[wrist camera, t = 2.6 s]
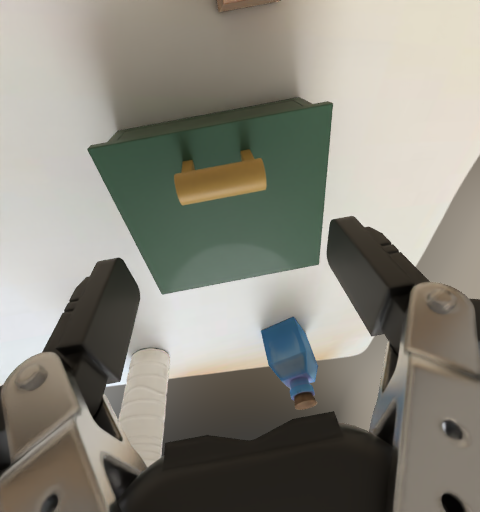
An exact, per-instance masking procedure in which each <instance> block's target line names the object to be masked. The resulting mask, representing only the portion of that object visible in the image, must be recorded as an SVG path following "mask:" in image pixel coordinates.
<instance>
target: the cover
mask: <svg viewBox="0 0 480 512" xmlns="http://www.w3.org/2000/svg"><path fill="white" fill-rule="evenodd" d="M332 108H333V103H331V102H328V101H327V102H322V103H317V104H311V105H306V106H300V107H295V108H290V109H284V110H279V111H273V112H268V113H263V114H257V115H252V116H246V117H241V118H236V119H230V120H225V121H219V122H214V123H209V124H203V125H198V126H192V127H187V128H182V129H176V130H171V131H165V132H160V133H155V134H149V135H144V136H138V137H133V138H128V139H122V140H117V141H111V142H106V143H101V144H95V145H91V146H90V147H89V148H88V152H89V154H90V156H91V157H92V159H93V161H94V163H95V165H96V167H97V169H98V171H99V173H100V175H101V177H102V179H103V181H104V183H105V185H106V187H107V189H108V191H109V192H110V194H111V196H112V198H113V200H114V202H115V204H116V206H117V208H118V210H119V212H120V214H121V216H122V218H123V220H124V222H125V224H126V225H127V227H128V229H129V231H130V233H131V235H132V237H133V239H134V241H135V243H136V245H137V247H138V249H139V251H140V253H141V255H142V257H143V259H144V260H145V262H146V264H147V266H148V268H149V270H150V272H151V274H152V276H153V278H154V280H155V282H156V284H157V286H158V288H159V290H160V292H161V293H162V294H167V293H173V292H178V291H183V290H188V289H193V288H199V287H204V286H209V285H214V284H220V283H225V282H230V281H235V280H241V279H246V278H251V277H256V276H261V275H267V274H272V273H277V272H282V271H288V270H293V269H298V268H303V267H309V266H314V265H318V264H319V256H320V245H321V233H322V222H323V211H324V199H325V188H326V177H327V165H328V154H329V142H330V131H331V120H332Z"/></svg>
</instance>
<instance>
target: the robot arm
mask: <svg viewBox="0 0 480 512" xmlns="http://www.w3.org/2000/svg"><path fill="white" fill-rule="evenodd" d="M327 259H328V263H329V265H330V267H331V269H332V271H333V272H334V274H335V276H336V277H337V279H338V281H339V282H340V284H341V286H342V288H343V289H344V291H345V293H346V294H347V296H348V298H349V299H350V301H351V303H352V304H353V306H354V308H355V309H356V311H357V313H358V314H359V316H360V318H361V319H362V321H363V323H364V324H365V326H366V328H367V329H368V331H369V333H370V334H371V336H376V335H381V334H385V336H386V337H387V339H388V343H387V347H386V352H385V358H384V364H383V370H382V376H381V382H380V387H379V393H378V398H377V402H376V405H375V408H374V411H373V415H372V419H371V424H370V429H369V432H368V431H366V430H364V429H361V428H359V427H356V426H353V425H349V424H345V423H339V422H338V421H337V418H336V416H335V413H334V411H333V412H328V413H323V414H317V415H312V416H307V417H301V418H296V419H292V420H290V421H288V422H287V423H285V424H283V425H281V426H279V427H277V428H275V429H273V430H272V431H270V432H268V433H266V434H264V435H262V436H260V437H258V438H257V439H254V440H250V441H248V440H240V439H232V438H225V437H217V436H209V435H206V436H200V437H195V438H189V439H184V440H179V441H173V442H168V443H165V453H164V456H163V457H161V458H160V459H158V460H157V461H155V462H154V463H152V464H151V465H150V466H149V467H147V466H146V464H145V463H144V461H143V460H142V458H141V457H140V455H139V454H138V453H137V452H136V451H135V449H134V448H133V447H132V445H131V444H130V442H129V440H128V438H127V436H126V434H125V433H124V431H123V429H122V427H121V425H120V423H119V421H118V419H117V417H116V415H115V413H114V411H113V409H112V407H111V405H110V403H109V401H108V399H107V397H106V396H105V395H104V390H105V387H106V384H110V383H116V382H120V380H121V376H122V372H123V368H124V364H125V360H126V355H127V351H128V347H129V343H130V339H131V335H132V330H133V326H134V322H135V318H136V314H137V310H138V306H139V301H140V292H139V288H138V285H137V283H136V282H135V280H134V278H133V276H132V275H131V273H130V271H129V269H128V268H127V266H126V264H125V262H124V261H123V260H122V259H121V258H114V259H109V260H103V261H99V262H97V263H96V265H95V267H94V269H93V271H92V273H91V275H90V277H86V278H85V279H84V280H83V281H82V282H81V283H80V284H79V285H78V286H77V287H76V289H75V291H74V292H73V294H72V296H71V298H70V300H69V301H70V303H68V304H67V306H66V308H65V310H64V311H65V312H64V313H63V314H62V315H61V317H60V319H59V321H58V323H57V325H56V327H55V329H54V331H53V333H52V335H51V337H50V338H49V340H48V342H47V344H46V346H45V348H44V350H43V352H42V353H39V354H37V355H34V356H32V357H30V358H29V359H27V360H26V361H24V362H23V363H21V364H20V365H19V366H18V367H17V368H16V369H15V370H14V371H13V372H12V373H11V374H10V375H9V377H8V378H7V380H6V381H5V383H4V385H2V386H0V512H480V300H478V299H469V298H468V297H467V296H465V295H464V294H463V293H462V292H460V291H459V290H457V289H455V288H453V287H451V286H448V285H445V284H442V283H436V282H430V281H429V280H428V279H427V278H426V277H425V276H423V274H422V273H421V272H420V271H419V270H418V269H417V268H416V267H415V266H414V265H413V264H412V263H411V262H410V261H409V260H408V259H407V258H406V257H405V256H404V255H403V254H402V253H401V252H399V250H398V249H397V248H396V247H395V246H394V245H393V244H392V245H391V242H390V241H389V240H388V239H387V238H386V237H385V236H384V235H383V234H382V233H380V232H378V231H376V230H375V229H373V228H371V227H363V226H362V224H361V223H360V222H359V221H358V220H357V219H356V218H355V217H354V216H350V217H344V218H339V219H333V220H331V222H330V227H329V235H328V244H327Z"/></svg>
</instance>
